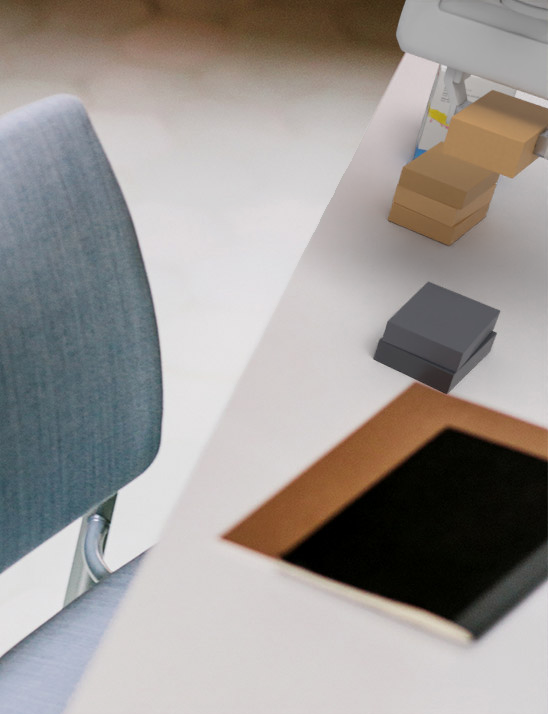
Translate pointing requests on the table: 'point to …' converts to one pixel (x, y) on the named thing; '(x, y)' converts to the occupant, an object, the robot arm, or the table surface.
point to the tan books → (442, 195)
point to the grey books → (438, 337)
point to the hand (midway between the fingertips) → (499, 139)
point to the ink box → (439, 105)
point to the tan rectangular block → (496, 133)
